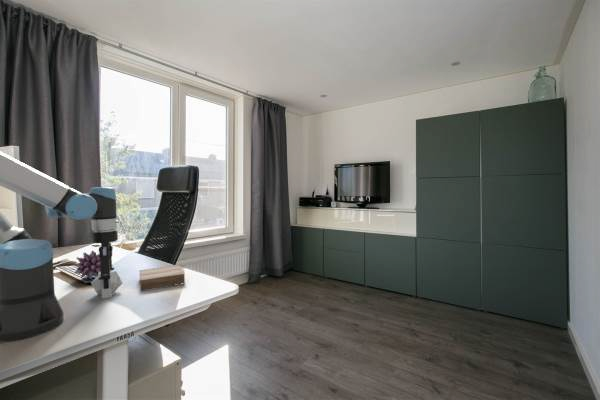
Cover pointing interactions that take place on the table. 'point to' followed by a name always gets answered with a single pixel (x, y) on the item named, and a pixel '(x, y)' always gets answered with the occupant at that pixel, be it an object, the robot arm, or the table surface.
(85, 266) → the purple spiky ball
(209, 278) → the table surface
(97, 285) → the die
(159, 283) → the plinth
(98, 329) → the table surface
